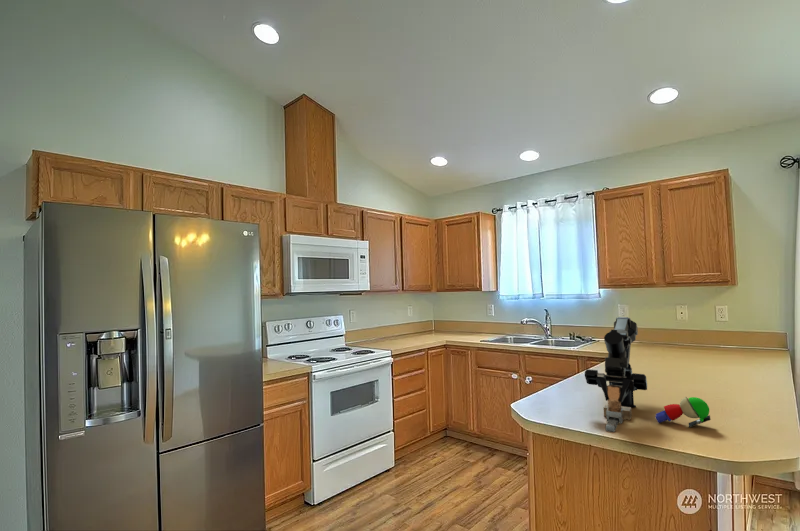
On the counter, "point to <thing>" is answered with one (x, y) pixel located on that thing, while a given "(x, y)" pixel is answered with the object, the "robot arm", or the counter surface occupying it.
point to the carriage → (614, 403)
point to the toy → (686, 411)
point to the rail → (612, 424)
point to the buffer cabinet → (626, 412)
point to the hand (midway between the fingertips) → (613, 400)
